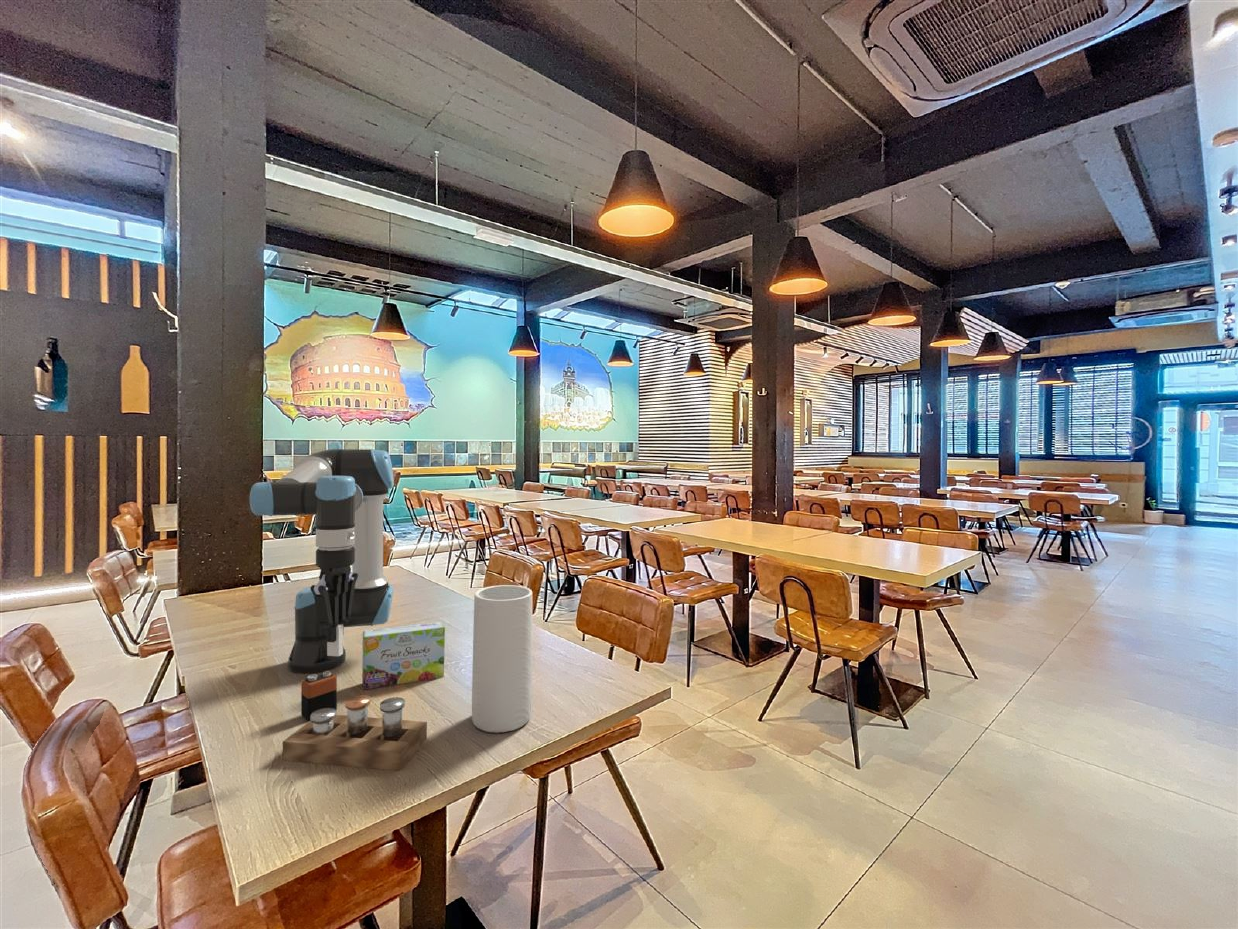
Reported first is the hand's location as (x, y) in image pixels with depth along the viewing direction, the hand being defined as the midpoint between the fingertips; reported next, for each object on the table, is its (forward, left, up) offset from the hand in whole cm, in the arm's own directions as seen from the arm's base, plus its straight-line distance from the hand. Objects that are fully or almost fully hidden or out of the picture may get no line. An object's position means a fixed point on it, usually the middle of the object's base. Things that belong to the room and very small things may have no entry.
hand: (335, 654), depth 118 cm
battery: (-13, +13, -21) cm, 28 cm away
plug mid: (+5, 0, -16) cm, 17 cm away
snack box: (-2, +34, -21) cm, 40 cm away
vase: (+32, +17, -21) cm, 42 cm away
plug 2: (+13, 0, -16) cm, 21 cm away
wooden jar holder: (+5, 0, -21) cm, 21 cm away
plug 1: (-3, 0, -20) cm, 20 cm away
